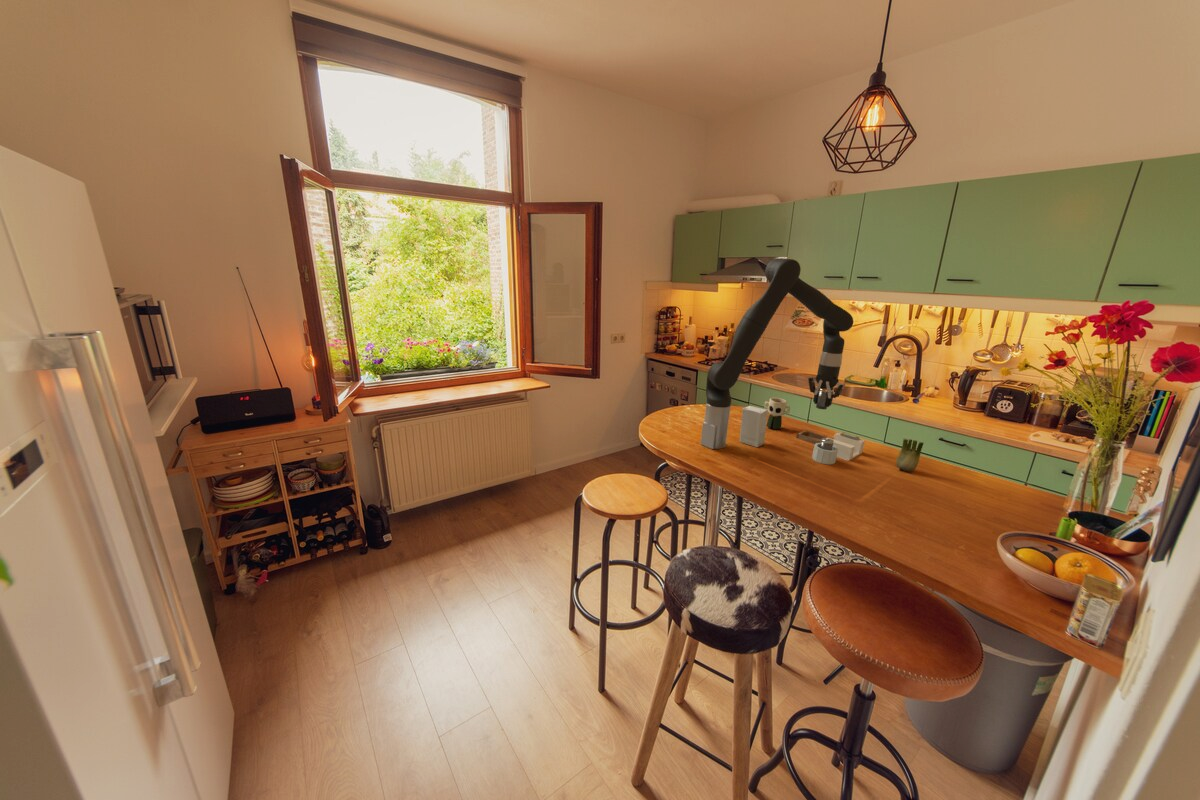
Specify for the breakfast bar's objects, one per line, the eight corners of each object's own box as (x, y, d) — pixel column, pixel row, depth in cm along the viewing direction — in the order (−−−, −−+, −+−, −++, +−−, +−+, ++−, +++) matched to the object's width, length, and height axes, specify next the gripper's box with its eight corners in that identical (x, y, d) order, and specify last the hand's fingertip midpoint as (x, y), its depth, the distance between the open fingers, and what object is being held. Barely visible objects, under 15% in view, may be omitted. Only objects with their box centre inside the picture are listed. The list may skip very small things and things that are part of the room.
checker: (848, 462, 160) (852, 445, 157) (821, 453, 167) (824, 436, 165) (861, 454, 167) (865, 438, 165) (835, 446, 174) (838, 430, 172)
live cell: (824, 410, 170) (828, 389, 168) (814, 407, 173) (817, 387, 171) (828, 408, 173) (832, 387, 170) (818, 405, 176) (822, 385, 173)
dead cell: (826, 463, 157) (831, 441, 154) (815, 459, 160) (819, 438, 157) (831, 460, 159) (835, 439, 157) (820, 456, 162) (824, 435, 160)
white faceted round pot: (828, 468, 155) (832, 453, 153) (808, 460, 160) (811, 446, 159) (838, 462, 159) (841, 448, 157) (817, 455, 165) (820, 441, 163)
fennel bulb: (916, 472, 154) (925, 441, 150) (910, 475, 152) (918, 443, 148) (899, 465, 159) (907, 435, 155) (892, 468, 156) (900, 438, 153)
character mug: (758, 426, 193) (762, 399, 189) (764, 422, 198) (768, 395, 194) (783, 433, 186) (788, 404, 182) (788, 428, 192) (793, 401, 188)
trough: (824, 449, 171) (826, 443, 170) (795, 439, 180) (796, 433, 179) (833, 444, 175) (834, 439, 175) (804, 435, 184) (805, 430, 184)
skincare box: (764, 444, 174) (769, 409, 169) (757, 448, 170) (762, 413, 165) (745, 438, 180) (749, 404, 175) (737, 441, 176) (742, 407, 171)
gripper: (807, 361, 170) (800, 402, 176) (844, 368, 160) (835, 411, 165) (816, 359, 175) (809, 399, 180) (853, 365, 164) (844, 408, 170)
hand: (821, 404), depth 173 cm, fingers closed on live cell, 4 cm apart
